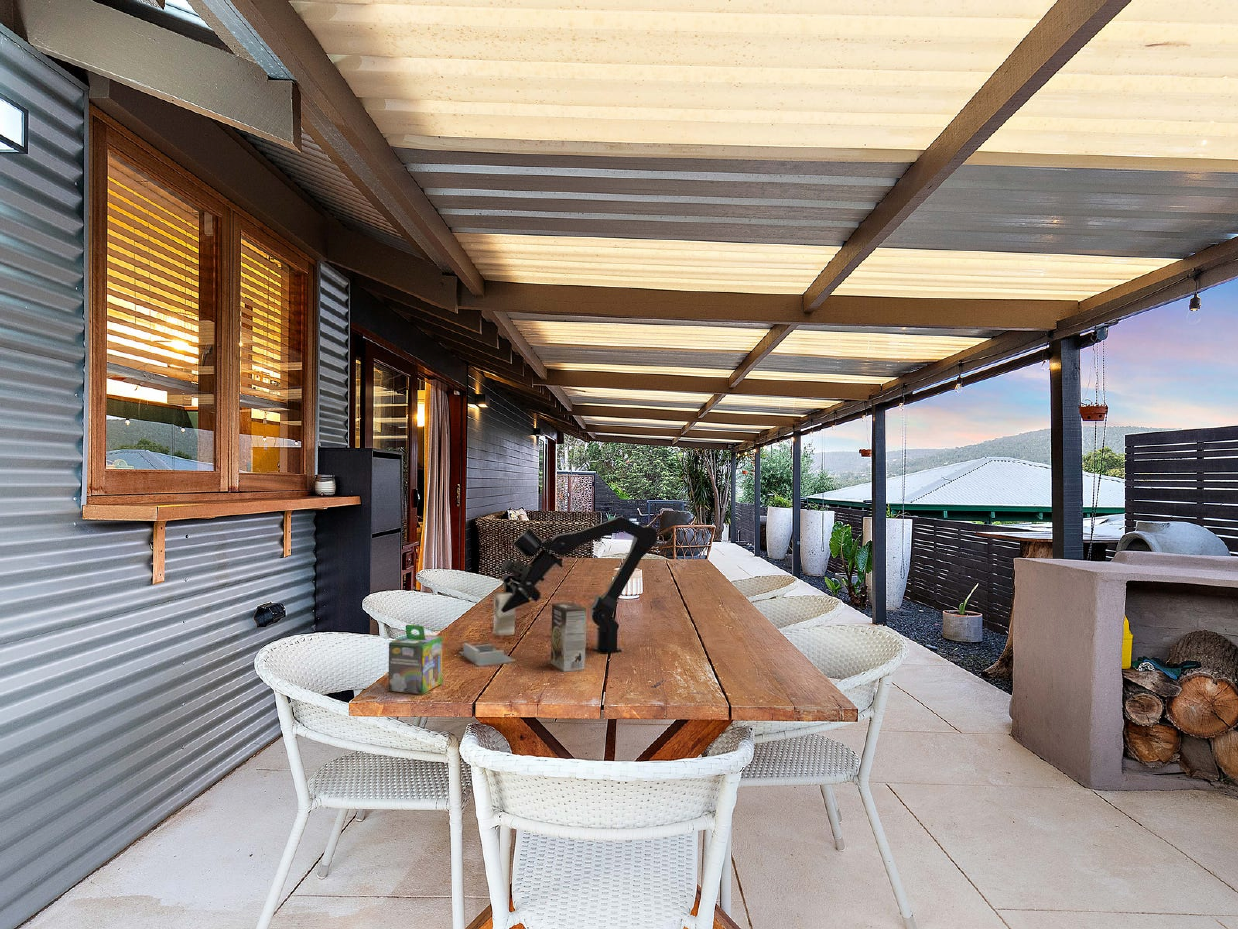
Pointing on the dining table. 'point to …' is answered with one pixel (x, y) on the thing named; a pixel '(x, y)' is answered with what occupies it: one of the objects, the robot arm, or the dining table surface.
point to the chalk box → (415, 662)
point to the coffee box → (568, 636)
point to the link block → (503, 615)
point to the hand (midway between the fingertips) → (499, 609)
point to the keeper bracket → (485, 655)
